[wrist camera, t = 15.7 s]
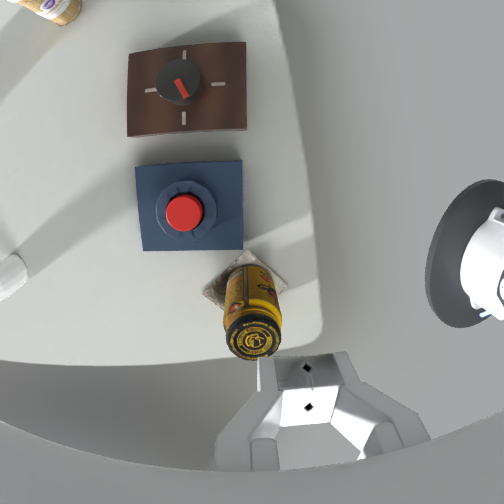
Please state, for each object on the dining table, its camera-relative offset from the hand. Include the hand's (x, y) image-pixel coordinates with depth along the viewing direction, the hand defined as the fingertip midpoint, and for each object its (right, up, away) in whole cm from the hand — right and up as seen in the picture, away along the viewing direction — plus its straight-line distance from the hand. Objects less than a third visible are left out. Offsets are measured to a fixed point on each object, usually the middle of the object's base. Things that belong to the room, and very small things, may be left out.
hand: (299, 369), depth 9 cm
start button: (-9, +8, +22) cm, 25 cm away
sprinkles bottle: (-27, +37, +15) cm, 48 cm away
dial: (-9, +21, +18) cm, 29 cm away
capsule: (-40, +1, +27) cm, 48 cm away
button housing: (-9, +10, +25) cm, 28 cm away
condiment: (-2, -1, +29) cm, 29 cm away
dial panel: (-9, +22, +21) cm, 31 cm away
